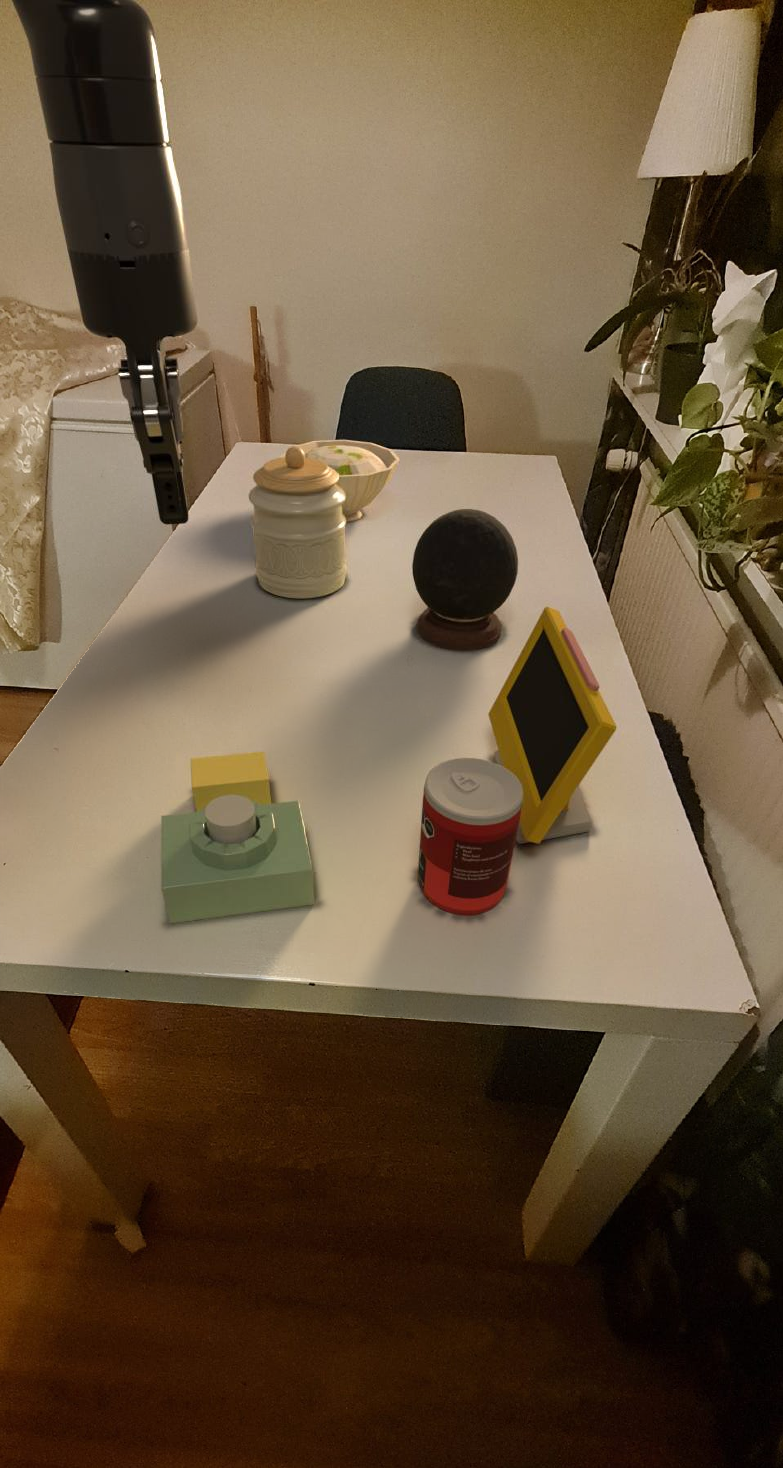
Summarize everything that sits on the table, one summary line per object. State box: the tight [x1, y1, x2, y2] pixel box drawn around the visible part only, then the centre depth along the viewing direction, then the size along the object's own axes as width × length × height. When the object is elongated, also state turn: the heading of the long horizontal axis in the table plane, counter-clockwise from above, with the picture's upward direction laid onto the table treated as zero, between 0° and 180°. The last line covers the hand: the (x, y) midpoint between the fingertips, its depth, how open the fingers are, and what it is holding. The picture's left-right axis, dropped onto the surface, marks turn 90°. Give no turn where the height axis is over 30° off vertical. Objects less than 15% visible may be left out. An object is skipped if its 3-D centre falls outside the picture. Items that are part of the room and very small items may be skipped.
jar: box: [248, 445, 348, 599], centre depth 105 cm, size 13×13×18 cm
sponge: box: [190, 750, 272, 812], centre depth 74 cm, size 7×4×4 cm, turn 102°
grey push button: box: [205, 795, 257, 845], centre depth 63 cm, size 4×4×2 cm
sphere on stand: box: [411, 508, 519, 651], centre depth 97 cm, size 13×13×15 cm
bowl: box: [280, 439, 401, 523], centre depth 127 cm, size 19×19×10 cm
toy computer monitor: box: [487, 606, 618, 845], centre depth 71 cm, size 20×8×16 cm, turn 4°
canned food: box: [417, 757, 523, 916], centre depth 64 cm, size 8×8×11 cm
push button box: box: [160, 800, 315, 924], centre depth 66 cm, size 12×9×6 cm
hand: (175, 520), depth 61 cm, fingers closed
